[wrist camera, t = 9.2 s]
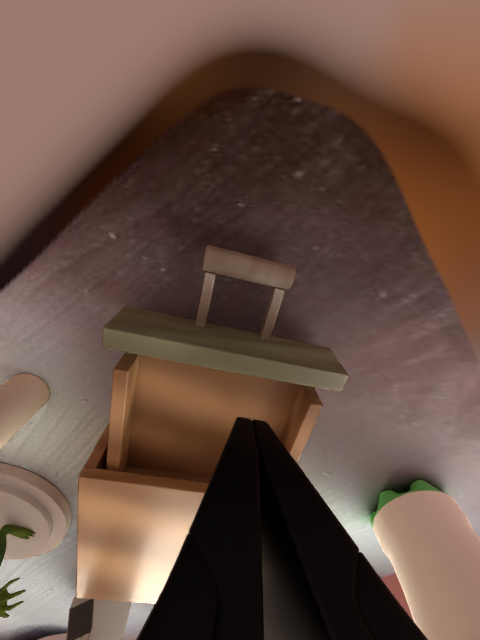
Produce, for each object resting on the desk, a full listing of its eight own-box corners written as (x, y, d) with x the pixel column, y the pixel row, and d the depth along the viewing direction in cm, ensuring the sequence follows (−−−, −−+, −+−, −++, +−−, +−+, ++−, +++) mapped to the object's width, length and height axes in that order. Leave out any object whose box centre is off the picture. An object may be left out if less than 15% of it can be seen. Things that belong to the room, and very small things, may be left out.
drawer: (133, 225, 15) (107, 229, 11) (357, 279, 16) (386, 295, 13) (113, 456, 21) (93, 498, 18) (274, 479, 23) (281, 521, 20)
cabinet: (111, 417, 20) (77, 476, 16) (290, 445, 22) (306, 505, 18) (102, 529, 26) (75, 598, 21) (249, 544, 27) (253, 611, 23)
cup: (334, 486, 24) (455, 811, 11) (459, 446, 23) (763, 763, 10) (363, 551, 28) (478, 844, 15) (471, 521, 27) (698, 814, 14)
